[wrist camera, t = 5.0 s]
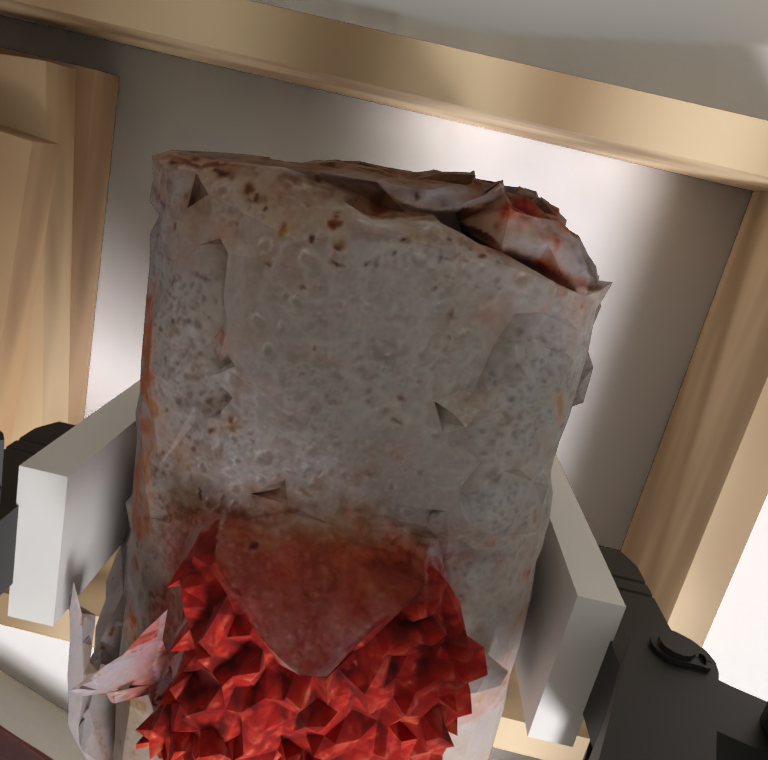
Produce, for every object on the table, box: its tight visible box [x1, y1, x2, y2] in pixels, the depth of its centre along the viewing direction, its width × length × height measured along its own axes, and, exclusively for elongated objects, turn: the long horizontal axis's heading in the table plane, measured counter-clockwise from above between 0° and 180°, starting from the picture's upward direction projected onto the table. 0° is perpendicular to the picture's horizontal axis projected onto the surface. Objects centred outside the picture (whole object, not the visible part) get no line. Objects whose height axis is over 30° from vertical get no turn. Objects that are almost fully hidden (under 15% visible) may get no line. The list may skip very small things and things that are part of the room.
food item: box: [68, 150, 613, 760], centre depth 13 cm, size 14×8×10 cm, turn 172°
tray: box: [0, 0, 768, 760], centre depth 22 cm, size 28×19×5 cm
